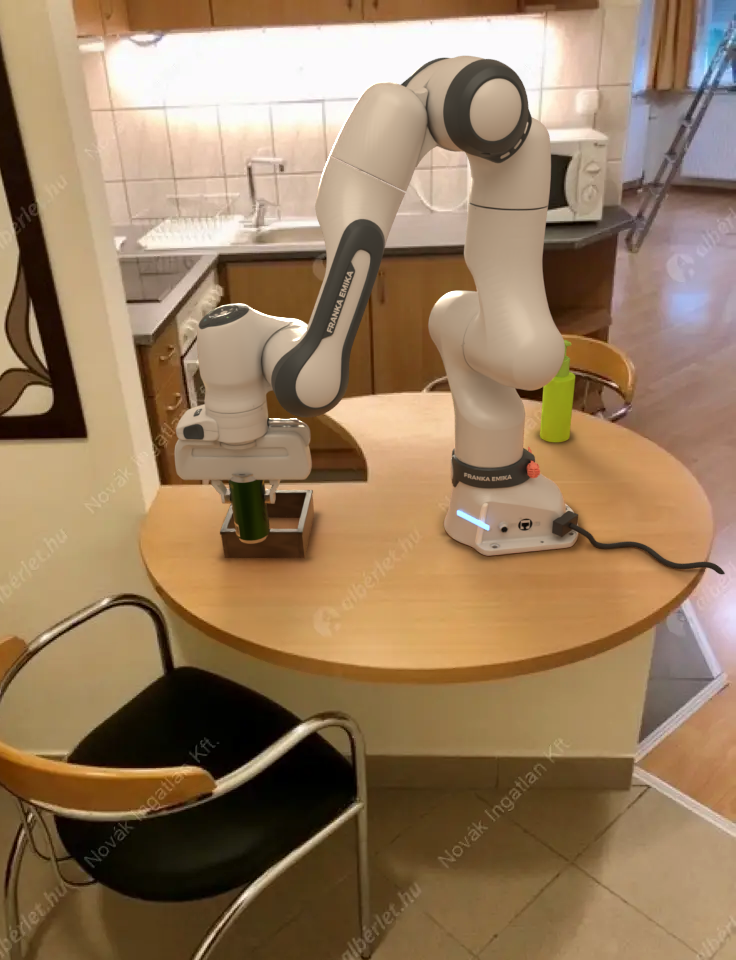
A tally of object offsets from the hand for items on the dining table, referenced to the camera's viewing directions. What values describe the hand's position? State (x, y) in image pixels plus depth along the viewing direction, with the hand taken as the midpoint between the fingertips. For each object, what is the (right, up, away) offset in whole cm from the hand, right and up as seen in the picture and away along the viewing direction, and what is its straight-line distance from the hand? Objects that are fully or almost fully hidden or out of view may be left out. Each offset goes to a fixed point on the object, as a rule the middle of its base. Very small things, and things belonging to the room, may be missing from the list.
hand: (248, 501), depth 131 cm
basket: (+2, -5, +18) cm, 18 cm away
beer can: (0, -5, +3) cm, 6 cm away
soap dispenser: (+57, +15, +43) cm, 73 cm away
